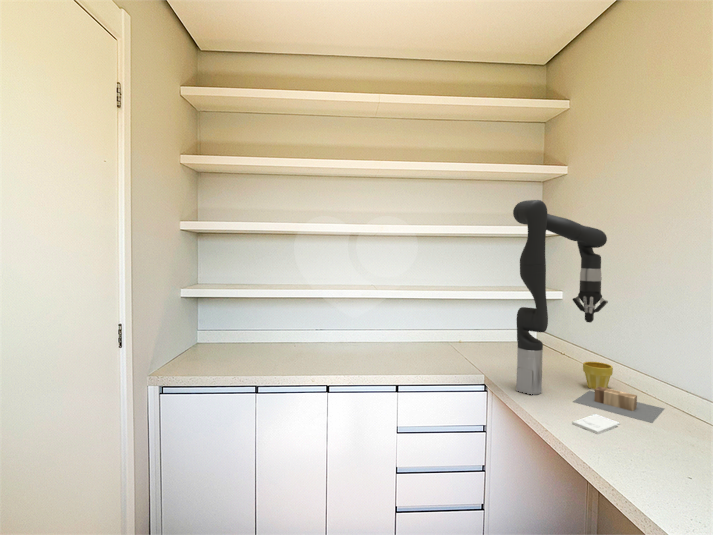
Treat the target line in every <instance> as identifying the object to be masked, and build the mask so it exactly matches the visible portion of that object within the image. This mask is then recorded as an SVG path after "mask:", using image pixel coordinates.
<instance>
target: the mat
mask: <svg viewBox="0 0 713 535" xmlns="http://www.w3.org/2000/svg"><path fill="white" fill-rule="evenodd" d="M594 398H595V390H594V391H593V390H588V391H587V392H585V393H583V394H582V395H580V396H579V397H577V398H576V399H575V400H572V403H575V404H578V405H583V406H586V407H590V408H594V409H598V410H601V411H605V412H609V413H611V414H612V413H613V414H616V415H620V416H623V417H626V418H627V417H628V418H632V419H634V420H638V421H643V422H646V423H648V424H649V423H650V424H653V423H654V422H655V420H657V418H658V417H659V416H660V415H661V414H662V413H663V412H664V410H665V408H664V407H660V406H656V405H651V404H647V403H644V402H639V401H637V408H636V409H635V410H634V411H630V410H626V409H623V408H619V407H615V406H611V405H607V404H603V403H599V402H595V401H594Z"/></svg>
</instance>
